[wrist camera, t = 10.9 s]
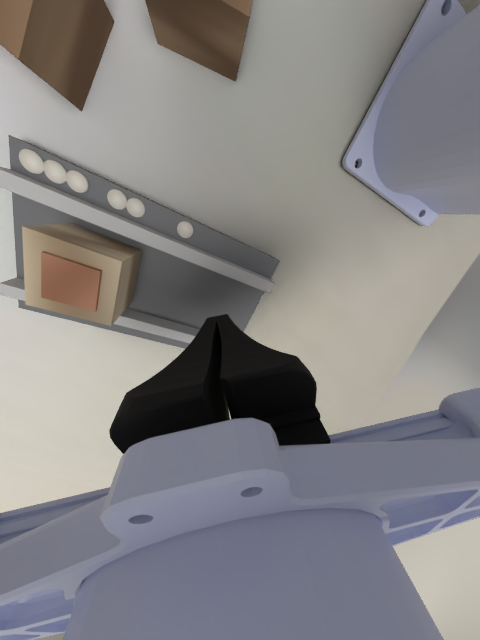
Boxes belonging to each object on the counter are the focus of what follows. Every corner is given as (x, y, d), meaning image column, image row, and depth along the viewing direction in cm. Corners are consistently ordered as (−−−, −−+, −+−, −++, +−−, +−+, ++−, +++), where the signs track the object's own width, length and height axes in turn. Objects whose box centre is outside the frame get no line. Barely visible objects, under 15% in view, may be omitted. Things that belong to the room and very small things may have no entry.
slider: (142, 250, 13) (120, 262, 9) (131, 302, 14) (109, 327, 11) (71, 223, 11) (18, 226, 8) (67, 283, 13) (22, 306, 10)
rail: (275, 258, 15) (285, 264, 13) (228, 352, 19) (230, 367, 17) (25, 141, 10) (-16, 125, 8) (30, 301, 14) (2, 315, 12)
